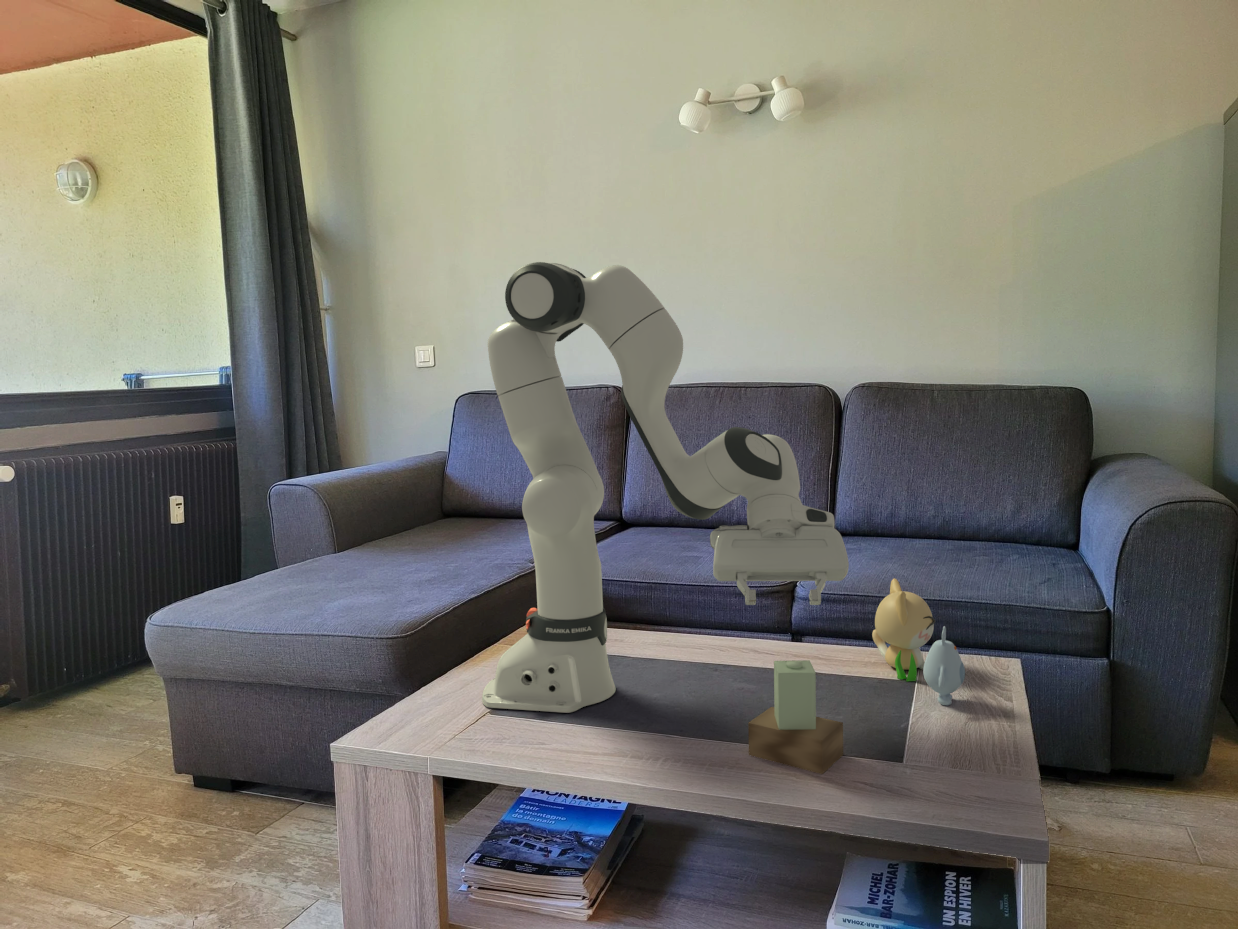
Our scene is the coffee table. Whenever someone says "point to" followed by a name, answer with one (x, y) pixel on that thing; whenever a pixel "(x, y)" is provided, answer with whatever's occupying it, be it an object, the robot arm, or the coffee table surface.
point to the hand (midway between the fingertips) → (783, 603)
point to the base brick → (796, 743)
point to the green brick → (795, 694)
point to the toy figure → (944, 669)
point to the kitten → (903, 630)
